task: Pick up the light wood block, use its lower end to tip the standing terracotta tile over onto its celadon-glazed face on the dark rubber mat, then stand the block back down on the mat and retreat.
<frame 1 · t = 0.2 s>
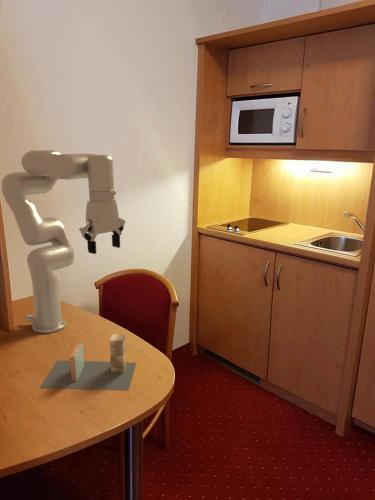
hand: (104, 250, 127), 36 cm above the table, tool pointing down, fingers open, 9 cm apart
tile: (78, 373, 123), point 1 cm above the table, touching mat
light wood block: (118, 368, 126), point 1 cm above the table, touching mat
mat: (90, 376, 123), on the table
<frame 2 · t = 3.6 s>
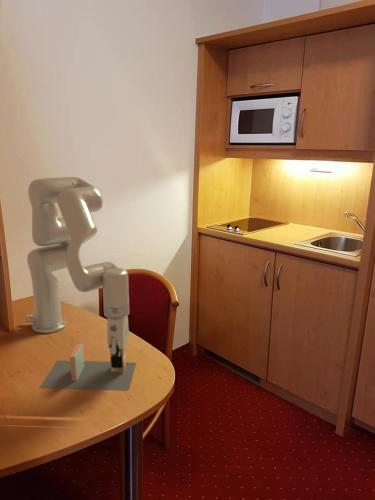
hand: (118, 362, 125), 3 cm above the table, tool pointing down, fingers closed on light wood block, 4 cm apart
light wood block: (118, 368, 126), point 1 cm above the table, touching gripper, mat
everything else where it was.
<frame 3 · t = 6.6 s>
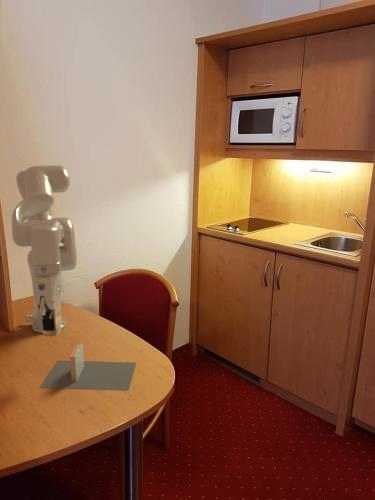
hand: (51, 326, 119), 16 cm above the table, tool pointing down, fingers closed on light wood block, 4 cm apart
light wood block: (52, 333, 120), point 14 cm above the table, touching gripper
everything else where it was.
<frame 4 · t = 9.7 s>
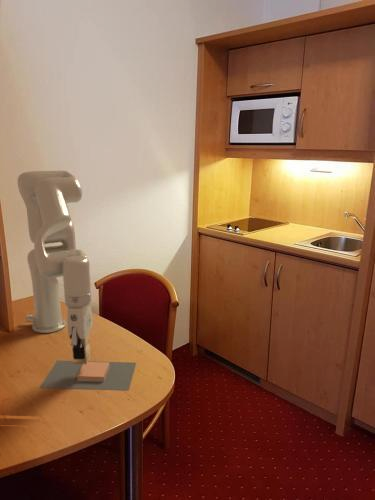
hand: (81, 353, 121), 7 cm above the table, tool pointing down, fingers closed on light wood block, 4 cm apart
tile: (80, 371, 123), point 1 cm above the table, tilted 90°, touching mat
light wood block: (82, 360, 122), point 5 cm above the table, touching gripper
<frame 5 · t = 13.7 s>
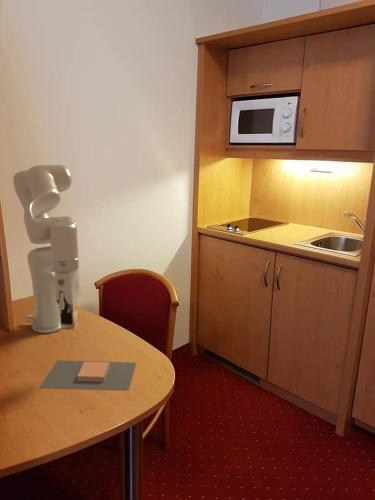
hand: (69, 319, 123), 17 cm above the table, tool pointing down, fingers closed on light wood block, 4 cm apart
light wood block: (69, 326, 123), point 14 cm above the table, touching gripper
everything else where it was.
when the fingers open (3 cm above the table, at t = 17.6 s): light wood block stays where it is, resting on mat.
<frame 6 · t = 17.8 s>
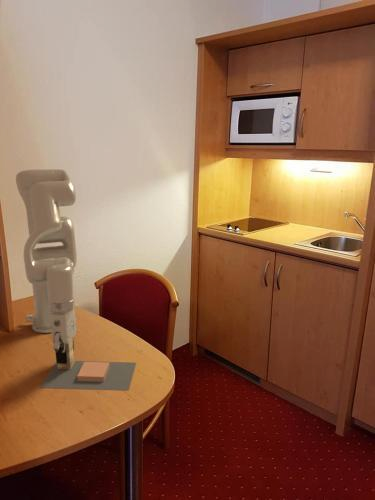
hand: (65, 356, 126), 4 cm above the table, tool pointing down, fingers open, 6 cm apart
light wood block: (66, 365, 127), point 1 cm above the table, touching mat
everything else where it was.
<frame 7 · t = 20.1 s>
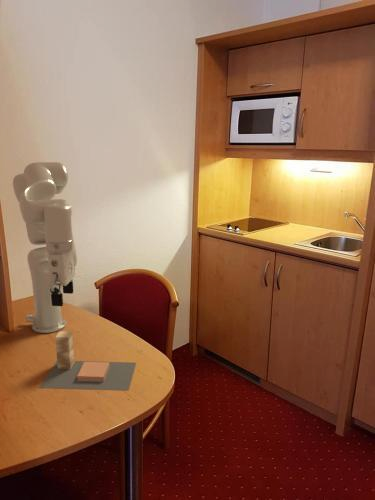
hand: (63, 299, 123), 23 cm above the table, tool pointing down, fingers open, 9 cm apart
nothing on the table moved.
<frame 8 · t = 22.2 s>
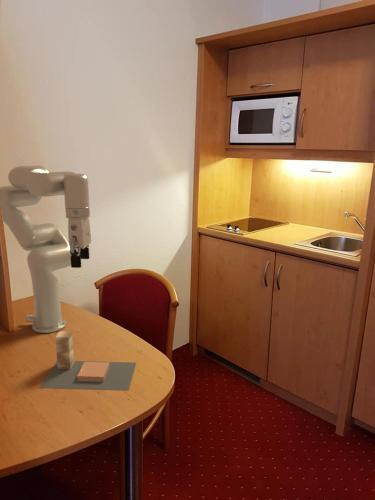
hand: (80, 263, 134), 30 cm above the table, tool pointing down, fingers open, 9 cm apart
nothing on the table moved.
at the end: tile tilted 90°; tile inside the target area (0.6 cm from its centre), point 1.4 cm above the table; light wood block 0.1 cm from the target spot, point 0.6 cm above the table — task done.
